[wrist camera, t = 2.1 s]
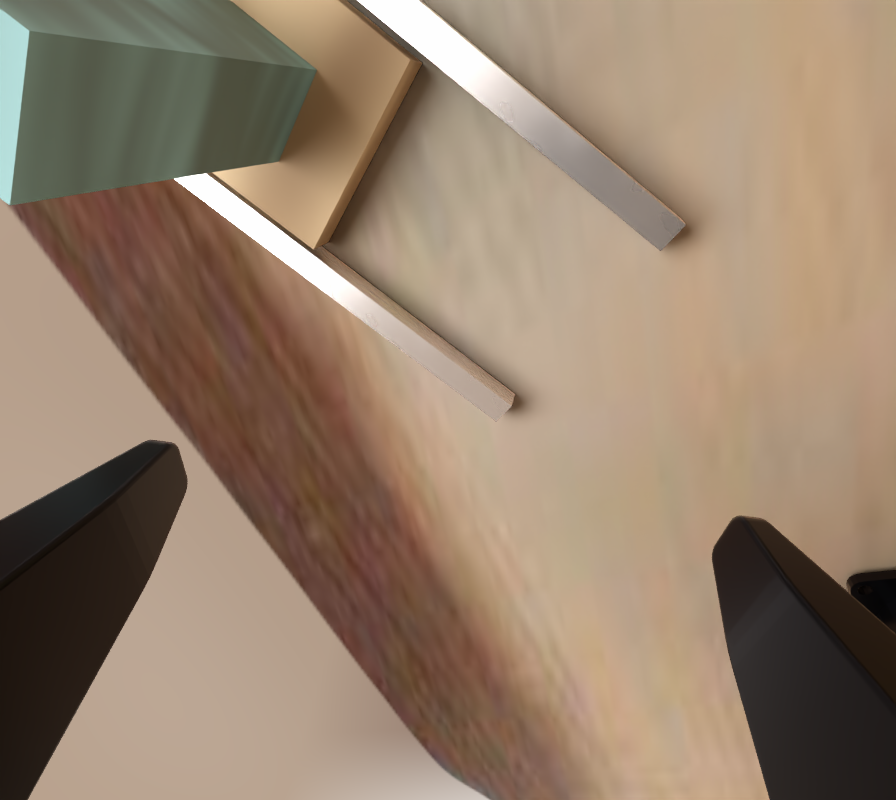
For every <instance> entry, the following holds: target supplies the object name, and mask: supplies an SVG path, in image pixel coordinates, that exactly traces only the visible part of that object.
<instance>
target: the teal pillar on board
mask: <svg viewBox="0 0 896 800" xmlns="http://www.w3.org/2000/svg"><path fill="white" fill-rule="evenodd" d="M421 65H422V62H421V61H419V60H418V59H417V58H416V57H415V56H413V55H412V54H411V53H410V52H408V51H407V50H406V49H405V48H404V47H402V46H401V45H400V44H399V43H398V42H396V41H395V40H394V39H393V38H392V37H390V36H389V35H388V34H387V33H385V32H384V31H383V30H382V29H381V28H379V27H378V26H377V25H376V24H375V23H373V22H372V21H371V20H370V19H368V18H367V17H366V16H365V15H364V14H362V13H361V12H360V11H359V10H358V9H356V8H355V7H354V6H353V5H351V4H350V3H349V2H348V1H347V0H0V198H1V199H2V200H3V201H5V202H6V203H8V204H9V205H15V204H21V203H27V202H33V201H39V200H45V199H52V198H58V197H64V196H70V195H76V194H82V193H89V192H95V191H101V190H107V189H113V188H120V187H126V186H132V185H138V184H144V183H150V182H157V181H163V180H169V179H175V178H181V177H187V176H194V175H200V174H206V173H214V174H215V175H216V176H217V177H219V178H220V179H221V180H223V181H224V182H225V183H227V184H228V185H229V186H231V187H232V188H233V189H235V190H236V191H237V192H238V193H240V194H241V195H242V196H244V197H245V198H246V199H248V200H249V201H250V202H252V203H253V204H254V205H256V206H257V207H258V208H260V209H261V210H262V211H263V212H265V213H266V214H267V215H269V216H270V217H271V218H273V219H274V220H275V221H277V222H278V223H279V224H281V225H282V226H283V227H284V228H286V229H287V230H288V231H290V232H291V233H292V234H294V235H295V236H296V237H298V238H299V239H300V240H302V241H303V242H304V243H305V244H307V245H308V246H309V247H311V248H312V249H313V250H314V249H316V248H318V247H320V246H322V245H324V244H326V243H328V242H329V240H330V238H331V236H332V234H333V232H334V230H335V229H336V227H337V225H338V223H339V221H340V219H341V217H342V215H343V213H344V211H345V210H346V208H347V206H348V204H349V202H350V200H351V198H352V196H353V194H354V192H355V190H356V189H357V187H358V185H359V183H360V181H361V179H362V177H363V175H364V173H365V171H366V169H367V168H368V166H369V164H370V162H371V160H372V158H373V156H374V154H375V152H376V150H377V149H378V147H379V145H380V143H381V141H382V139H383V137H384V135H385V133H386V131H387V129H388V128H389V126H390V124H391V122H392V120H393V118H394V116H395V114H396V112H397V110H398V109H399V107H400V105H401V103H402V101H403V99H404V97H405V95H406V93H407V91H408V89H409V88H410V86H411V84H412V82H413V80H414V78H415V76H416V74H417V72H418V70H419V68H420V67H421Z"/></svg>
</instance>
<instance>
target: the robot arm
mask: <svg viewBox="0 0 896 800" xmlns="http://www.w3.org/2000/svg"><path fill="white" fill-rule="evenodd" d="M186 489H187V475H186V472H185V469H184V465H183V462H182V459H181V455H180V452H179V449H178V447H177V446H176V445H175V444H174V443H172V442H165V441H157V440H148V441H145V442H143V443H141V444H139V445H137V446H135V447H133V448H132V449H130V450H128V451H126V452H124V453H122V454H121V455H119V456H117V457H115V458H113V459H112V460H110V461H108V462H106V463H104V464H102V465H101V466H98V467H97V468H95V469H93V470H91V471H89V472H87V473H86V474H84V475H82V476H80V477H78V478H76V479H75V480H73V481H71V482H69V483H67V484H65V485H64V486H62V487H60V488H58V489H56V490H54V491H52V492H51V493H49V494H47V495H46V496H43V497H41V498H40V499H38V500H36V501H34V502H32V503H31V504H29V505H27V506H25V507H23V508H21V509H19V510H18V511H16V512H14V513H12V514H10V515H8V516H6V517H5V518H3V519H1V520H0V800H28V798H29V796H30V795H31V793H32V791H33V789H34V787H35V785H36V784H37V782H38V780H39V778H40V776H41V775H42V773H43V771H44V769H45V767H46V766H47V764H48V762H49V760H50V758H51V757H52V755H53V753H54V751H55V749H56V747H57V746H58V744H59V742H60V740H61V738H62V737H63V734H64V733H65V731H66V729H67V727H68V726H69V724H70V722H71V720H72V718H73V716H74V715H75V713H76V711H77V709H78V708H79V705H80V704H81V702H82V700H83V698H84V697H85V695H86V693H87V691H88V689H89V688H90V686H91V684H92V682H93V680H94V679H95V677H96V675H97V673H98V671H99V669H100V668H101V666H102V664H103V662H104V660H105V659H106V657H107V655H108V653H109V651H110V649H111V648H112V646H113V644H114V642H115V640H116V638H117V636H118V635H119V633H120V631H121V630H122V628H123V626H124V624H125V622H126V620H127V619H128V617H129V615H130V613H131V611H132V610H133V608H134V606H135V604H136V602H137V600H138V599H139V597H140V595H141V593H142V591H143V589H144V588H145V585H146V584H147V581H148V580H149V578H150V576H151V574H152V571H153V569H154V567H155V564H156V562H157V560H158V557H159V555H160V553H161V550H162V548H163V546H164V543H165V541H166V538H167V536H168V533H169V531H170V529H171V526H172V524H173V522H174V519H175V517H176V515H177V512H178V510H179V507H180V505H181V502H182V500H183V498H184V495H185V493H186ZM712 562H713V568H714V574H715V580H716V586H717V592H718V597H719V603H720V609H721V615H722V621H723V626H724V632H725V638H726V643H727V648H728V653H729V656H730V660H731V664H732V668H733V672H734V675H735V679H736V682H737V686H738V689H739V693H740V696H741V700H742V703H743V707H744V710H745V714H746V717H747V721H748V725H749V728H750V732H751V735H752V739H753V742H754V746H755V749H756V753H757V756H758V760H759V763H760V767H761V770H762V774H763V777H764V781H765V784H766V788H767V792H768V795H769V799H770V800H896V570H891V571H881V572H871V573H861V574H856V575H853V576H851V577H849V579H848V580H847V589H848V592H847V591H846V590H845V589H844V588H843V587H842V586H840V585H839V584H838V583H837V582H836V581H835V580H834V579H832V578H831V577H830V576H829V575H828V574H827V573H826V572H824V571H823V570H822V569H821V568H820V567H819V566H818V565H816V564H815V563H814V562H813V561H812V560H811V559H810V558H809V557H807V556H806V555H805V554H804V553H803V552H802V551H801V550H799V549H798V548H797V547H796V546H795V545H794V544H793V543H791V542H790V541H789V540H788V539H787V538H786V537H785V536H783V535H782V534H781V533H780V532H779V531H778V530H777V529H776V528H774V527H773V526H772V525H771V524H770V523H769V522H767V521H766V520H764V519H761V518H756V517H748V516H736V517H735V518H733V519H732V520H731V521H730V523H729V524H728V526H727V527H726V529H725V530H724V532H723V533H722V535H721V537H720V538H719V540H718V541H717V543H716V544H715V546H714V549H713V553H712ZM861 586H865V587H861Z"/></svg>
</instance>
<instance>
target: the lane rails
mask: <svg viewBox="0 0 896 800" xmlns="http://www.w3.org/2000/svg"><path fill="white" fill-rule="evenodd" d="M357 1H359V2H360V3H361V4H362V5H363V6H365V7H366V8H367V9H368V10H369V11H371V12H372V13H373V14H374V15H375V16H377V17H378V18H379V19H380V20H382V21H383V22H384V23H385V24H386V25H388V26H389V27H390V28H391V29H392V30H394V31H395V32H396V33H397V34H398V35H400V36H401V37H402V38H403V39H404V40H406V41H407V42H408V43H409V44H411V45H412V46H413V47H414V48H415V49H417V50H418V51H419V52H420V53H421V54H423V55H424V56H425V57H426V58H427V59H429V60H430V61H431V62H432V63H434V64H435V65H436V66H437V67H438V68H440V69H441V70H442V71H443V72H444V73H446V74H447V75H448V76H449V77H450V78H452V79H453V80H454V81H455V82H457V83H458V84H459V85H460V86H461V87H463V88H464V89H465V90H466V91H467V92H469V93H470V94H471V95H472V96H473V97H475V98H476V99H477V100H478V101H480V102H481V103H482V104H483V105H484V106H486V107H487V108H488V109H489V110H490V111H492V112H493V113H494V114H495V115H496V116H498V117H499V118H500V119H501V120H503V121H504V122H505V123H506V124H507V125H509V126H510V127H511V128H512V129H513V130H515V131H516V132H517V133H518V134H519V135H521V136H522V137H523V138H524V139H526V140H527V141H528V142H529V143H530V144H532V145H533V146H534V147H535V148H536V149H538V150H539V151H540V152H541V153H542V154H544V155H545V156H546V157H547V158H548V159H550V160H551V161H552V162H553V163H555V164H556V165H557V166H558V167H559V168H561V169H562V170H563V171H564V172H565V173H567V174H568V175H569V176H570V177H571V178H573V179H574V180H575V181H576V182H578V183H579V184H580V185H581V186H582V187H584V188H585V189H586V190H587V191H588V192H590V193H591V194H592V195H593V196H594V197H596V198H597V199H598V200H599V201H601V202H602V203H603V204H604V205H605V206H607V207H608V208H609V209H610V210H611V211H613V212H614V213H615V214H616V215H617V216H619V217H620V218H621V219H622V220H624V221H625V222H626V223H627V224H628V225H630V226H631V227H632V228H633V229H634V230H636V231H637V232H638V233H639V234H640V235H642V236H643V237H644V238H645V239H647V240H648V241H649V242H650V243H651V244H653V245H654V246H655V247H656V248H657V249H659V250H660V251H661V250H662V249H663V248H664V247H665V246H666V245H667V244H668V243H669V242H670V241H671V240H672V239H673V238H674V237H675V236H676V235H677V234H678V233H679V232H680V231H681V229H682V228H683V227H684V226H685V225H686V224H685V223H684V221H683V220H682V219H681V218H680V217H679V216H678V215H677V214H675V213H674V212H673V211H672V210H671V209H669V208H668V207H667V206H666V205H665V204H664V203H662V202H661V201H660V200H659V199H658V198H656V197H655V196H654V195H653V194H652V193H650V192H649V191H648V190H647V189H646V188H644V187H643V186H642V185H641V184H640V183H638V182H637V181H636V180H635V179H634V178H633V177H631V176H630V175H629V174H628V173H627V172H625V171H624V170H623V169H622V168H621V167H619V166H618V165H617V164H616V163H615V162H613V161H612V160H611V159H610V158H609V157H607V156H606V155H605V154H604V153H603V152H602V151H600V150H599V149H598V148H597V147H596V146H594V145H593V144H592V143H591V142H590V141H588V140H587V139H586V138H585V137H584V136H582V135H581V134H580V133H579V132H578V131H576V130H575V129H574V128H573V127H572V126H571V125H569V124H568V123H567V122H566V121H565V120H563V119H562V118H561V117H560V116H559V115H557V114H556V113H555V112H554V111H553V110H551V109H550V108H549V107H548V106H547V105H545V104H544V103H543V102H542V101H541V100H540V99H538V98H537V97H536V96H535V95H534V94H532V93H531V92H530V91H529V90H528V89H526V88H525V87H524V86H523V85H522V84H520V83H519V82H518V81H517V80H516V79H514V78H513V77H512V76H511V75H510V74H509V73H507V72H506V71H505V70H504V69H503V68H501V67H500V66H499V65H498V64H497V63H495V62H494V61H493V60H492V59H491V58H489V57H488V56H487V55H486V54H485V53H483V52H482V51H481V50H480V49H479V48H478V47H476V46H475V45H474V44H473V43H472V42H470V41H469V40H468V39H467V38H466V37H464V36H463V35H462V34H461V33H460V32H458V31H457V30H456V29H455V28H454V27H452V26H451V25H450V24H449V23H448V22H447V21H445V20H444V19H443V18H442V17H441V16H439V15H438V14H437V13H436V12H435V11H433V10H432V9H431V8H430V7H429V6H427V5H426V4H425V3H424V2H423V1H421V0H357ZM175 180H176V181H177V182H179V183H180V184H181V185H183V186H184V187H185V188H187V189H188V190H189V191H191V192H192V193H193V194H195V195H196V196H197V197H199V198H200V199H201V200H203V201H204V202H205V203H207V204H208V205H209V206H211V207H212V208H213V209H215V210H216V211H217V212H219V213H220V214H221V215H223V216H224V217H225V218H227V219H228V220H229V221H231V222H232V223H233V224H235V225H236V226H237V227H239V228H240V229H241V230H242V231H244V232H245V233H246V234H248V235H249V236H250V237H252V238H253V239H254V240H256V241H257V242H258V243H260V244H261V245H262V246H264V247H265V248H266V249H268V250H269V251H270V252H272V253H273V254H274V255H276V256H277V257H278V258H280V259H281V260H282V261H284V262H285V263H286V264H288V265H289V266H290V267H292V268H293V269H294V270H296V271H297V272H298V273H300V274H301V275H302V276H304V277H305V278H306V279H307V280H309V281H310V282H311V283H313V284H314V285H315V286H317V287H318V288H319V289H321V290H322V291H323V292H325V293H326V294H327V295H329V296H330V297H331V298H333V299H334V300H335V301H337V302H338V303H339V304H341V305H342V306H343V307H345V308H346V309H347V310H349V311H350V312H351V313H353V314H354V315H355V316H357V317H358V318H359V319H361V320H362V321H363V322H365V323H366V324H367V325H369V326H370V327H371V328H372V329H374V330H375V331H376V332H378V333H379V334H380V335H382V336H383V337H384V338H386V339H387V340H388V341H390V342H391V343H392V344H394V345H395V346H396V347H398V348H399V349H400V350H402V351H403V352H404V353H406V354H407V355H408V356H410V357H411V358H412V359H414V360H415V361H416V362H418V363H419V364H420V365H422V366H423V367H424V368H426V369H427V370H428V371H430V372H431V373H432V374H434V375H435V376H436V377H437V378H439V379H440V380H441V381H443V382H444V383H445V384H447V385H448V386H449V387H451V388H452V389H453V390H455V391H456V392H457V393H459V394H460V395H461V396H463V397H464V398H465V399H467V400H468V401H469V402H471V403H472V404H473V405H475V406H476V407H477V408H479V409H480V410H481V411H483V412H484V413H485V414H487V415H488V416H489V417H491V418H492V419H493V420H495V421H496V422H497V421H498V420H499V419H500V418H501V417H502V416H503V415H504V414H505V413H506V412H507V410H508V409H509V408H510V407H511V406H512V404H513V400H514V397H515V393H513V392H512V391H511V390H509V389H508V388H507V387H505V386H504V385H503V384H501V383H500V382H499V381H498V380H496V379H495V378H494V377H492V376H491V375H490V374H488V373H487V372H486V371H484V370H483V369H482V368H481V367H479V366H478V365H477V364H475V363H474V362H473V361H471V360H470V359H469V358H467V357H466V356H465V355H463V354H462V353H461V352H460V351H458V350H457V349H456V348H454V347H453V346H452V345H450V344H449V343H448V342H446V341H445V340H444V339H443V338H441V337H440V336H439V335H437V334H436V333H435V332H433V331H432V330H431V329H429V328H428V327H427V326H426V325H424V324H423V323H422V322H420V321H419V320H418V319H416V318H415V317H414V316H412V315H411V314H410V313H409V312H407V311H406V310H405V309H403V308H402V307H401V306H399V305H398V304H397V303H395V302H394V301H393V300H391V299H390V298H389V297H388V296H386V295H385V294H384V293H382V292H381V291H380V290H378V289H377V288H376V287H374V286H373V285H372V284H371V283H369V282H368V281H367V280H365V279H364V278H363V277H361V276H360V275H359V274H357V273H356V272H355V271H354V270H352V269H351V268H350V267H348V266H347V265H346V264H344V263H343V262H342V261H340V260H339V259H338V258H337V257H335V256H334V255H333V254H331V253H330V252H329V251H327V250H326V249H325V248H323V247H322V246H320V247H318V248H316V249H314V250H313V249H312V248H311V247H309V246H308V245H307V244H305V243H304V242H303V241H302V240H300V239H299V238H298V237H296V236H295V235H294V234H292V233H291V232H290V231H288V230H287V229H286V228H284V227H283V226H282V225H281V224H279V223H278V222H277V221H275V220H274V219H273V218H271V217H270V216H269V215H267V214H266V213H265V212H263V211H262V210H261V209H260V208H258V207H257V206H256V205H254V204H253V203H252V202H250V201H249V200H248V199H246V198H245V197H244V196H242V195H241V194H240V193H238V192H237V191H236V190H235V189H233V188H232V187H231V186H229V185H228V184H227V183H225V182H224V181H223V180H221V179H220V178H219V177H217V176H216V175H215V174H214V173H206V174H200V175H194V176H187V177H181V178H175Z"/></svg>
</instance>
